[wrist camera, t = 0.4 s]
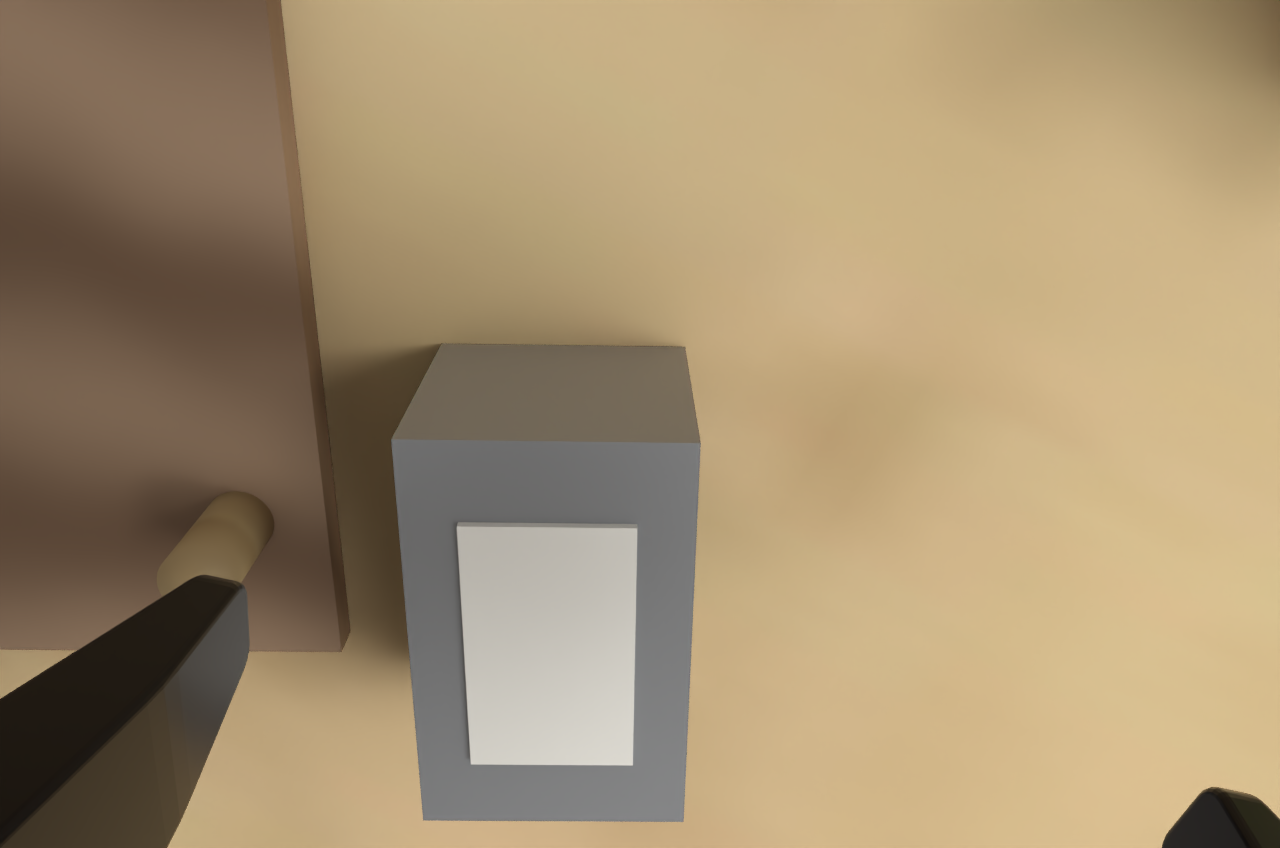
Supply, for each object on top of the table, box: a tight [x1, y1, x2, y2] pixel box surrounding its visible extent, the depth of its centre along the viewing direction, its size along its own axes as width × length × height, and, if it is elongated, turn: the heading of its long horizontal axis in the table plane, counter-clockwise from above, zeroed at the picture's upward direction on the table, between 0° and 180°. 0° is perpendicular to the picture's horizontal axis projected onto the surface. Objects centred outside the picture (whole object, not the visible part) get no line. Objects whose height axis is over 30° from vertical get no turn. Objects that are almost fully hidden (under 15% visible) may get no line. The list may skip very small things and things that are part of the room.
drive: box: [391, 344, 701, 822], centre depth 20 cm, size 8×5×5 cm, turn 179°
